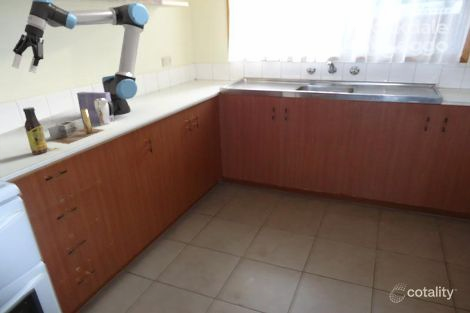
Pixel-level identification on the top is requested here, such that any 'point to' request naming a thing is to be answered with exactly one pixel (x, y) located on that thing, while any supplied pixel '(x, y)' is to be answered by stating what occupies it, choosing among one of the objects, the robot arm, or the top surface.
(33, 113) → the sauce bottle
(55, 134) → the grey rectangular block
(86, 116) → the hinge pin
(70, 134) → the grey block
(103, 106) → the beer glass
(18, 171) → the top surface
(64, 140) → the walnut board
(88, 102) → the cake pan box
